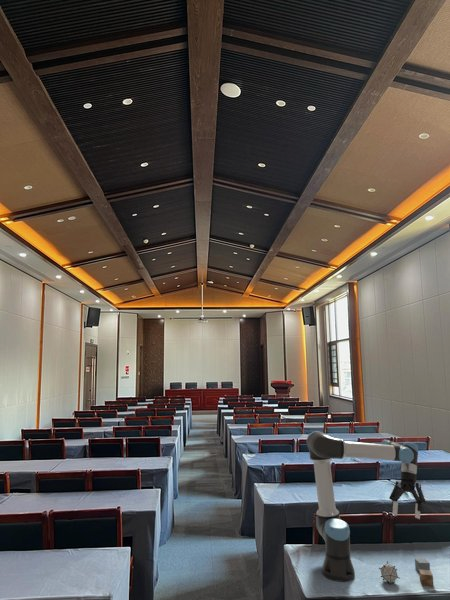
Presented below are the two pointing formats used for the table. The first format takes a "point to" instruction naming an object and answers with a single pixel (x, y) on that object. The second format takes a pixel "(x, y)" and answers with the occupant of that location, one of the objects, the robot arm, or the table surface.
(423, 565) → the slate block
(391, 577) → the spiky ball
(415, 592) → the table surface
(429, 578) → the walnut block
